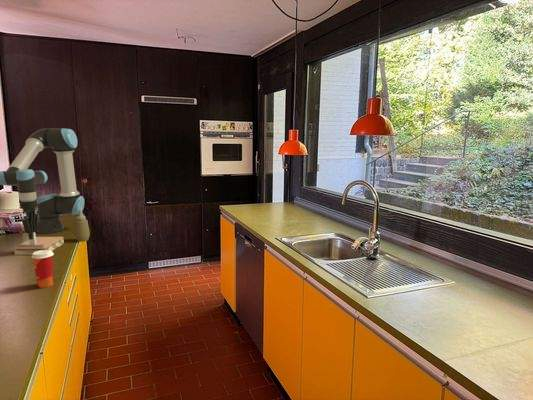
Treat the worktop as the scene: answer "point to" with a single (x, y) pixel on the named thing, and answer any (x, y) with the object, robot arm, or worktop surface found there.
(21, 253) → the frame
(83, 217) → the squeeze bottle
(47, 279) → the paper cup
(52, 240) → the lid
